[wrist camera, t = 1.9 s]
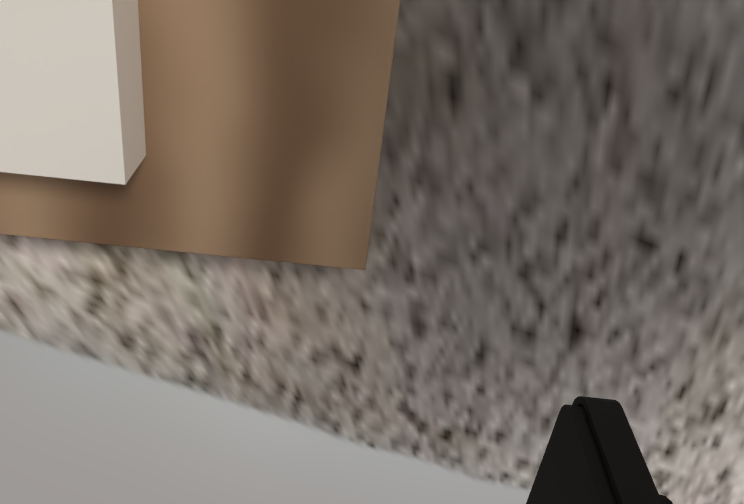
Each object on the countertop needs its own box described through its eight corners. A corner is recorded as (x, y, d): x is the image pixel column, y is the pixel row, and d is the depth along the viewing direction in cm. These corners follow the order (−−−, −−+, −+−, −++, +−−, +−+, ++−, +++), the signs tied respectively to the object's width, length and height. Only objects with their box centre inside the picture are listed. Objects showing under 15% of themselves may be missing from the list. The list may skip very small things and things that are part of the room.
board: (410, -129, 25) (416, -123, 21) (366, 222, 32) (365, 269, 28) (-185, -207, 24) (-280, -213, 20) (-92, 175, 31) (-151, 219, 27)
